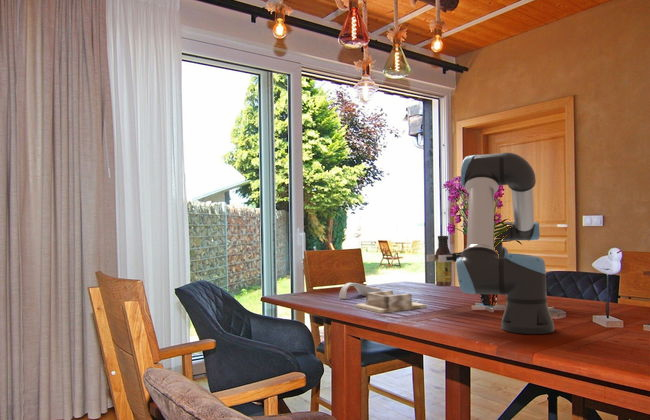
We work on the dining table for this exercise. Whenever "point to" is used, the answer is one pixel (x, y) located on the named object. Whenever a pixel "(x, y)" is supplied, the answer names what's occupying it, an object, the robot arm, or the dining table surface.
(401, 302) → the U-rest
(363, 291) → the grey arched piece
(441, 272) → the sauce bottle
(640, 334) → the dining table surface
